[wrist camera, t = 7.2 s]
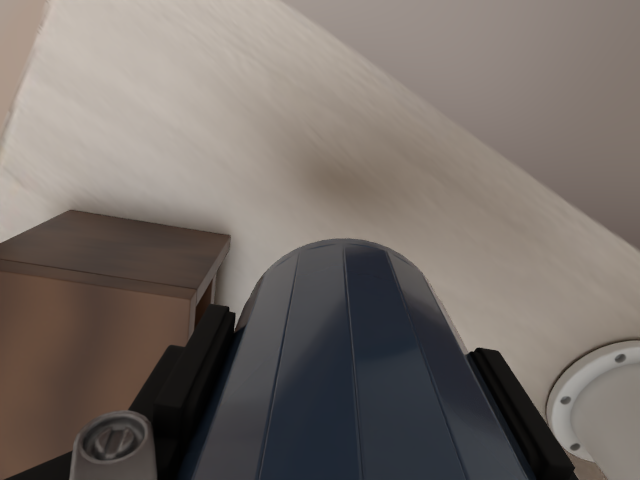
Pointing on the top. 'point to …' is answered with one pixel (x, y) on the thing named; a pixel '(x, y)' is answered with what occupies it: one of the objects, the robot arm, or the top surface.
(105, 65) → the top surface
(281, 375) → the pen cup
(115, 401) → the wooden jewelry box
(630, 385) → the robot arm
